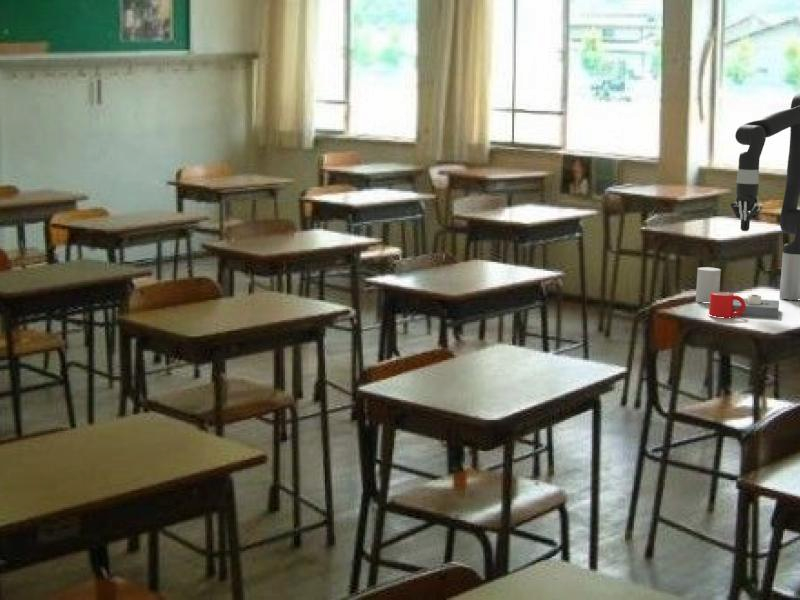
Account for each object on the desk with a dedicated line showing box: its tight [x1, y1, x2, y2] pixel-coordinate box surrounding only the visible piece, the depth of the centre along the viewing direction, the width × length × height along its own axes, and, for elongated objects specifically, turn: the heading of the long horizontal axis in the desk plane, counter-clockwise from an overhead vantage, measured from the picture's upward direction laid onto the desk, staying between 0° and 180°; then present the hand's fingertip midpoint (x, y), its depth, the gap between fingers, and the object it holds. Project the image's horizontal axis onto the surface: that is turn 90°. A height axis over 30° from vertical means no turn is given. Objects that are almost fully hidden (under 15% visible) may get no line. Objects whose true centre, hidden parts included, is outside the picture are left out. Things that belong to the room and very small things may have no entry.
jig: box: [733, 297, 780, 319], centre depth 455 cm, size 16×16×4 cm
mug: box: [708, 291, 746, 319], centre depth 447 cm, size 8×12×8 cm, turn 73°
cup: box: [695, 266, 722, 303], centre depth 475 cm, size 8×8×12 cm
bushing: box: [747, 294, 762, 304], centre depth 455 cm, size 4×4×6 cm
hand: (744, 230), depth 465 cm, fingers closed
